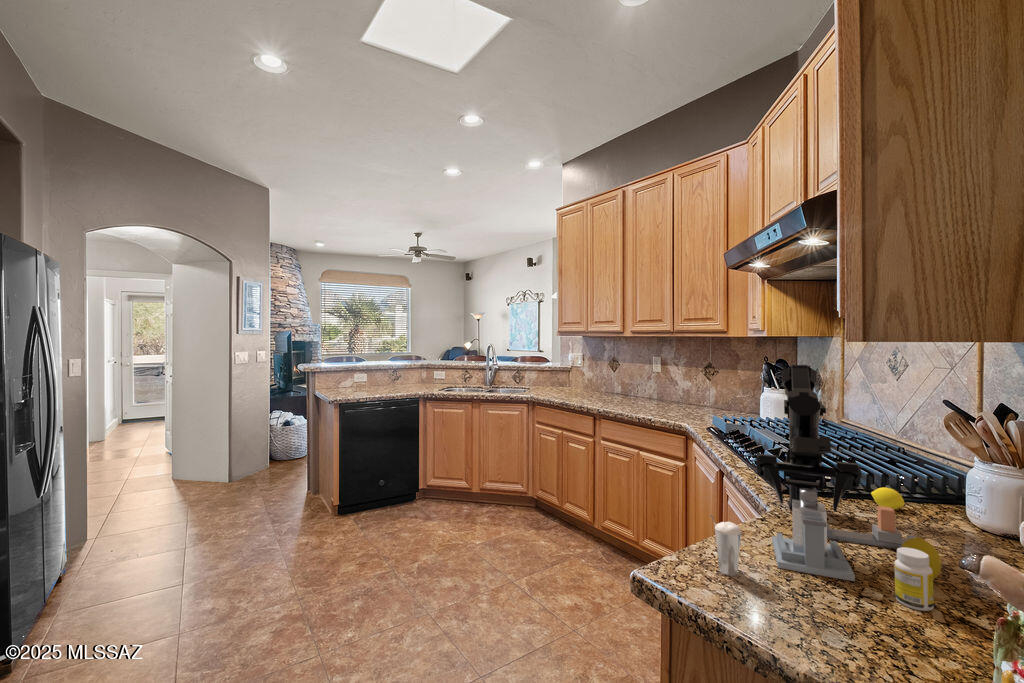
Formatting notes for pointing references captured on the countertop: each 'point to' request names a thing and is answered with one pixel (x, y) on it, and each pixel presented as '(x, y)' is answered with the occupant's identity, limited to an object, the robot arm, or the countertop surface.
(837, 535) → the rail
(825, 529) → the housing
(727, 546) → the milkshake
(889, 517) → the lever
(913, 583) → the supplement bottle
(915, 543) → the lemon
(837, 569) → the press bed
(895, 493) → the lemon
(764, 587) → the countertop surface
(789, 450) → the robot arm
